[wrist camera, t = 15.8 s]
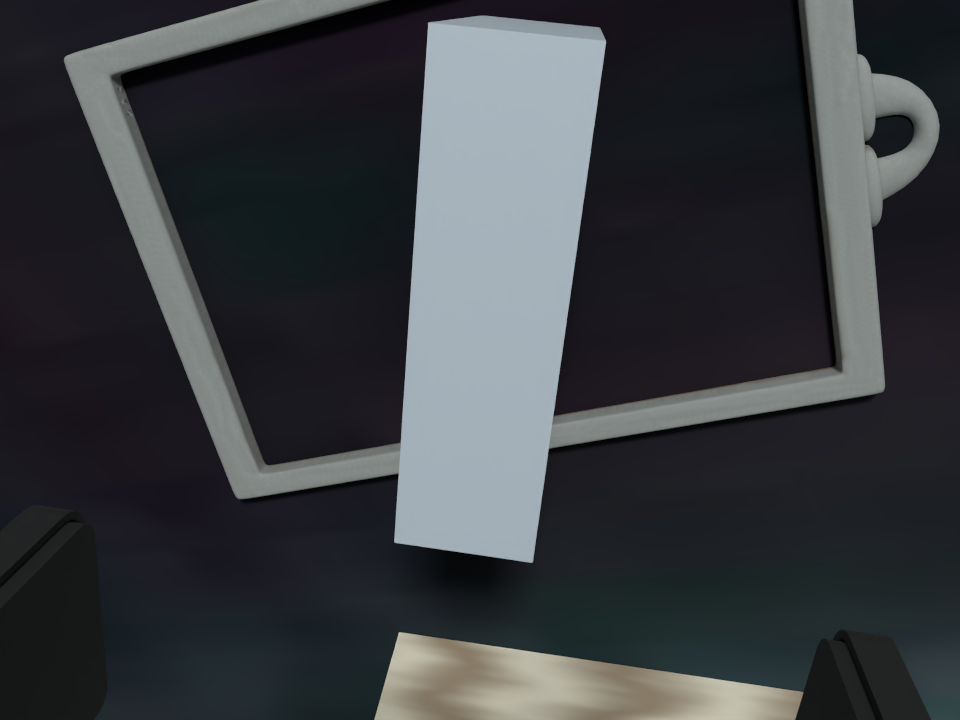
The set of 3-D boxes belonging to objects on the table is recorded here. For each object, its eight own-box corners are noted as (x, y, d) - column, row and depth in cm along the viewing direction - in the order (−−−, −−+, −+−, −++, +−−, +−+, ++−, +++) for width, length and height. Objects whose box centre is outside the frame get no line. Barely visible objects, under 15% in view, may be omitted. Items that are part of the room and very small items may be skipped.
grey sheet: (599, 27, 29) (606, 41, 19) (548, 400, 35) (532, 562, 25) (482, 15, 30) (428, 22, 20) (450, 387, 35) (394, 542, 25)
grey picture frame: (58, 55, 32) (932, -191, 26) (81, 53, 33) (913, -181, 28) (234, 502, 38) (961, 382, 33) (247, 483, 40) (945, 365, 34)
